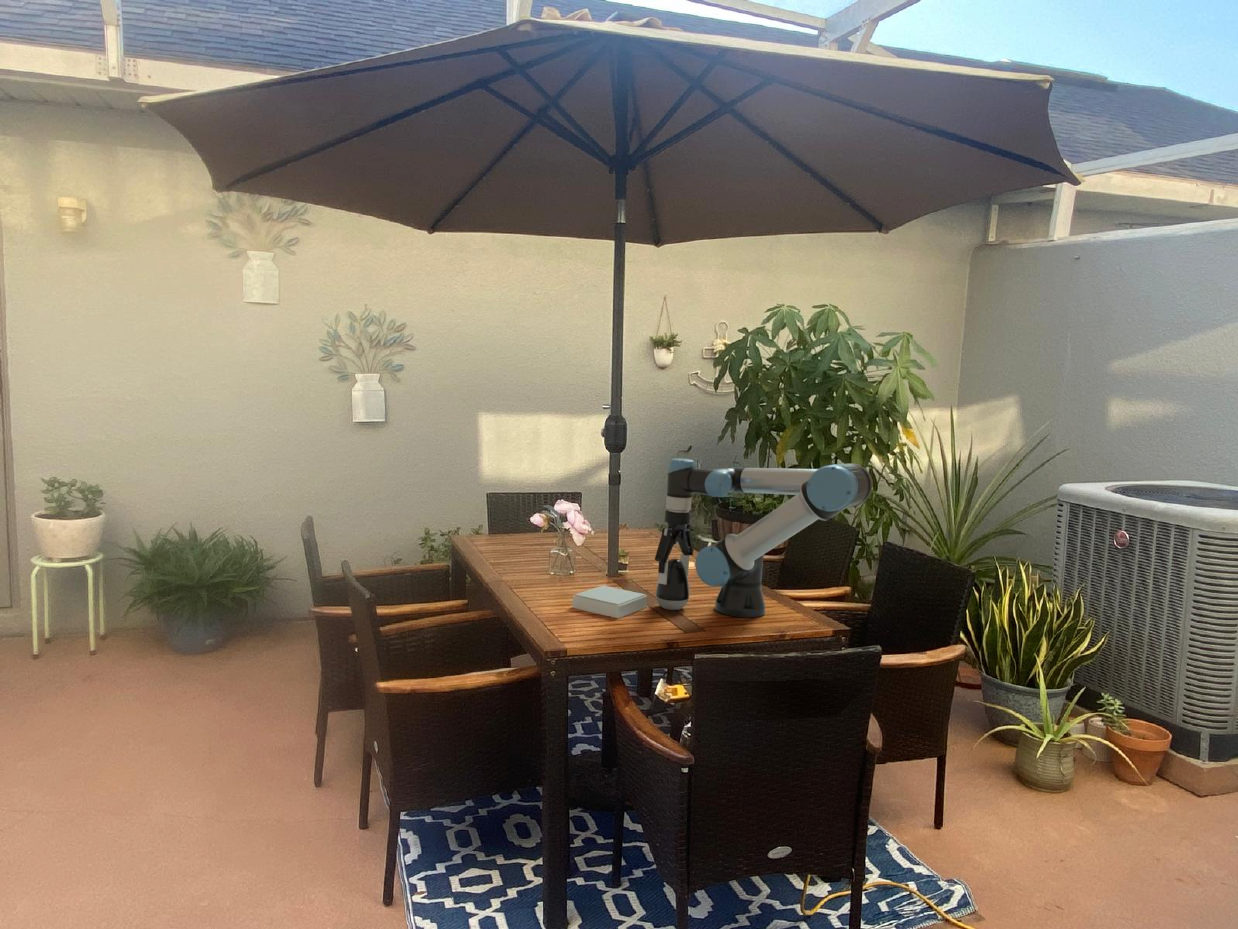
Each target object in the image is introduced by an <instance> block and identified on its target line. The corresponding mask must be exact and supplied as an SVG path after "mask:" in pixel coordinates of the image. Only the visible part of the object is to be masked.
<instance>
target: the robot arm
mask: <svg viewBox="0 0 1238 929" xmlns="http://www.w3.org/2000/svg"><path fill="white" fill-rule="evenodd" d="M668 464H669V465H668V472H667V486H666V487H667V492H666V498H665V500H666V501H665V502H666V503H665V508H666V510H665V512H664V522H665V523H666V524H668V527H666V528H665V527H663V528H662V529H661V537H660V540H659V543H658V546H657V548H656V549H657V550H656V553H655V556H654V560H655V562H658V571H657V584H658V583H660V584H665V585H666V584H667V572H668V562H667V561H668V560H669V556H670V555H671V553H672V550H673V547H674V545H676V544H677V543H678V545H679V548H680V551H681V554H680V557H679V560H680V561H681V562H682V563H683V565H684V567H685V570H686V573H687V577H689V567H690V556H693V555H694V550H695V549H694V542H693V537H692V527H691V526H692V524H690V523H691V510H692V501H693V500H692V499H693V498H692V496H693V494H698V495H705V496H710V497H713V498H725V497H727V495H728V494H730V493H731V494H732V493H738V494H739V493H740V494H743V493H746V494H749V493H750V494H770V495H793V497H791V498H790V499H788V500H786V501H785V502H784V503H782V504H781V505H779V506H778V507H777V508H775V509H773V510H772V511H770V512H769V513H768V514H766V515H765V516H763V517H762V518H760V519H759V520H757V521H756V522H755V523H753V524H751V525H750V526H748V527H747V528H746V529H744V530H742V531H741V532H739V533H738V534H735V533H729V534H726V536H724V537H723V538H721V539H720V540H718V541H717V542H715V543H714V544H712V545H707V546H705V547H703V548H702V549H699V551H698V552H697V555H696V557H695V564H694V566H695V571H696V574H697V576H698V577H699V579H700V580H701V581H702V582H703V583H704V584H706V585H707V586H709V587H713V588H716V587H720V589H719V592H718V594H717V595H716V599H715V603H714V610H716V612H718V613H721V614H723V615H726V616H731V617H738V618H757V617H762V616H764V615H765V613H766V602H765V599H764V596H763V590H762V579H763V578H762V577H763V569H764V568H763V567H764V557H765V556H764V555H765V554H766V553H768V552H769V551H771V550H773V549H774V548H776V547H777V546H779V545H781V544H783V542H786V541H787V540H788V539H790V538H791V537H793V536H795V535H796V534H798V533H800V531H802V530H804V529H806V528H807V527H808V526H810V525H812V524H813V523H815V522H816V521H818V520H820V521H829V520H830V519H832V518H833V517H835V516H837V515H838V514H840V513H841V512H842V511H844V510H846V509H848V508H851V507H855V506H858V505H861V504H863V503H864V502H865V501H867V499H868V498H870V495H871V494H872V491H873V485H874V484H873V482H874V481H873V479H872V476H871V474H870V472H869V471H868V470H867V469H866V468H865V467H864V466H862V465H860V464H858V463H854V462H853V463H841V464H828V465H823V466H822V467H819V468H785V467H784V468H779V467H777V468H775V467H771V468H769V467H768V468H767V467H740V466H731V467H723V468H713V469H708V468H701V467H700V468H699V467H696V466H695V461H694V460H692V459H689V458H672V459H670V460H669V463H668Z"/></svg>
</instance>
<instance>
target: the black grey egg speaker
mask: <svg viewBox="0 0 1238 929" xmlns="http://www.w3.org/2000/svg"><path fill="white" fill-rule="evenodd" d="M667 562H668V572H667V584H666V585H665V584H660V583H657V585H656V590H655V596H656V601H657V603H658V604H659V606H660V607H662V608H663V609H664V610H669V611H678V610H681V609H683V608H684V607H685V606H686V605H687V604H688V601H689V599H690V596H691V595H690V594H691V593H690V584H689V579H688V577H689V576H688V577H687V573H686V570H685V567H684V565H683V563H682V562H681V561H680V559H678V558H670V559H668V560H667Z"/></svg>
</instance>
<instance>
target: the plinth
mask: <svg viewBox="0 0 1238 929" xmlns="http://www.w3.org/2000/svg"><path fill="white" fill-rule="evenodd" d="M647 604H648V595H647V594H645V593H641V592H636V591H631V590H627V589H621V588H618V587H613V586H607V585H600V586H598V587H594V588H591V589H589V590H585V591H582V592H578V593H575V594H574V595H573V596H572V609H576V610H580V611H584V612H589V613H593V614H596V615H602V616H607V617H609V616H610V618H615V619H620V618H623V617H626V616H628V615H631V614H634V613H635V612H638V611H641V610H644V609H646V608H647V607H648V606H647Z"/></svg>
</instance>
